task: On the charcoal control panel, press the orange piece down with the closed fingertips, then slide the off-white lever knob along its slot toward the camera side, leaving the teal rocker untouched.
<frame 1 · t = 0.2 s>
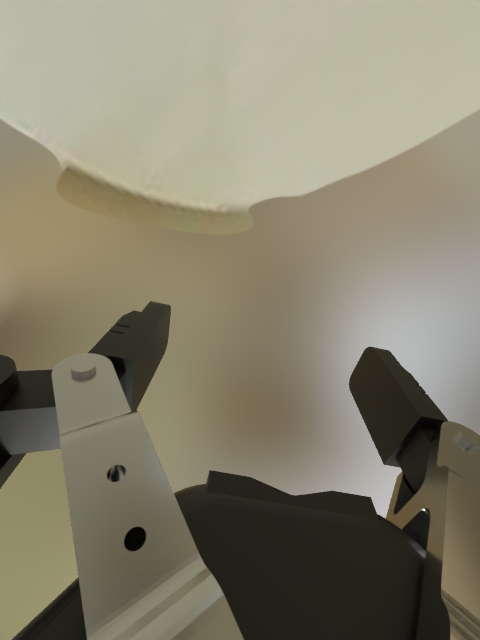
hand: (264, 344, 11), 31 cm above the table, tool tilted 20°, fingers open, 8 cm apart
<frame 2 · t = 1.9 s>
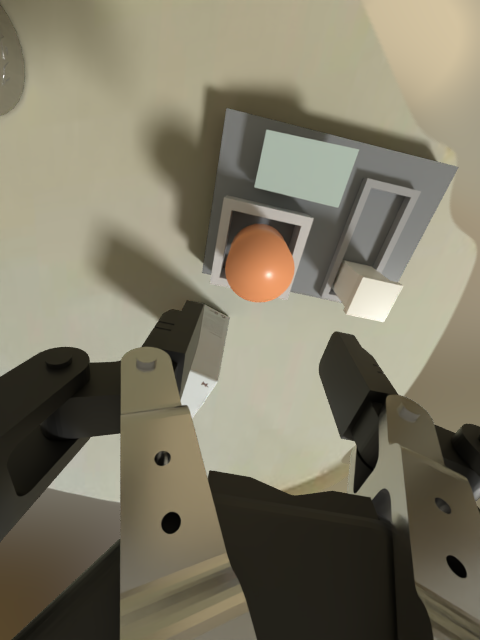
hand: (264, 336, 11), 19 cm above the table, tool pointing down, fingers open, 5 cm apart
orange piece: (258, 261, 21), point 8 cm above the table, slide at 0.0 cm
panel: (311, 221, 27), on the table
skincare box: (204, 326, 34), on the table
rocker: (303, 170, 21), point 5 cm above the table, hinge at -12.0°
lever: (361, 287, 25), point 6 cm above the table, slide at 0.0 cm
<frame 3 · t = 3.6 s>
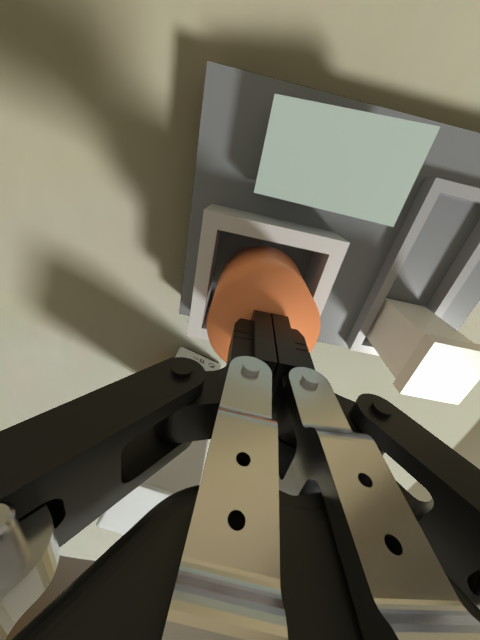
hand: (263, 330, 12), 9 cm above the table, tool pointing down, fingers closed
orange piece: (261, 305, 14), point 7 cm above the table, slide at 1.1 cm, touching gripper
panel: (336, 240, 19), on the table
skincare box: (188, 374, 26), on the table
rocker: (335, 164, 13), point 5 cm above the table, hinge at -12.0°
lever: (416, 344, 16), point 6 cm above the table, slide at 0.0 cm
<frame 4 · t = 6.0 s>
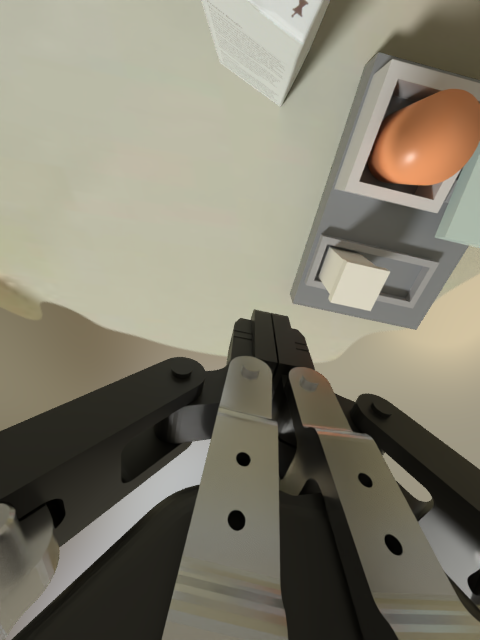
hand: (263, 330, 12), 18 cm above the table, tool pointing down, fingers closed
orange piece: (416, 144, 19), point 5 cm above the table, slide at 2.6 cm
panel: (389, 217, 26), on the table
skincare box: (263, 56, 21), on the table
lever: (347, 275, 23), point 6 cm above the table, slide at 0.0 cm
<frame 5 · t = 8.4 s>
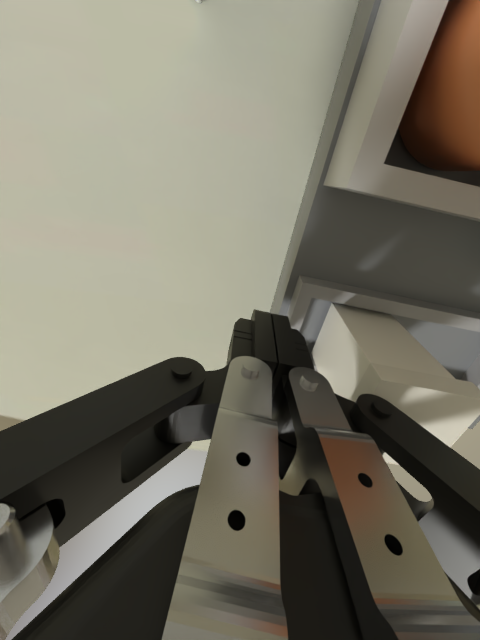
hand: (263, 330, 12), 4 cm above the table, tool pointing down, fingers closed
panel: (429, 238, 14), on the table
lever: (371, 371, 11), point 6 cm above the table, slide at 0.8 cm, touching gripper
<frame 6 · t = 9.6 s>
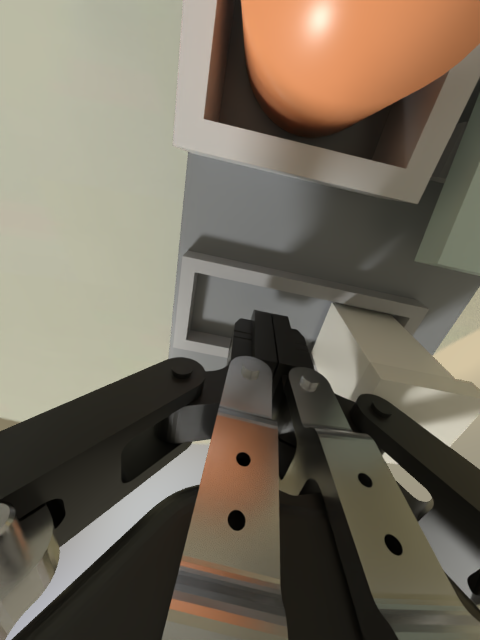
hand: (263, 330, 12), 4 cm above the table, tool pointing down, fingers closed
panel: (332, 216, 14), on the table
lever: (371, 370, 11), point 6 cm above the table, slide at 6.1 cm, touching gripper
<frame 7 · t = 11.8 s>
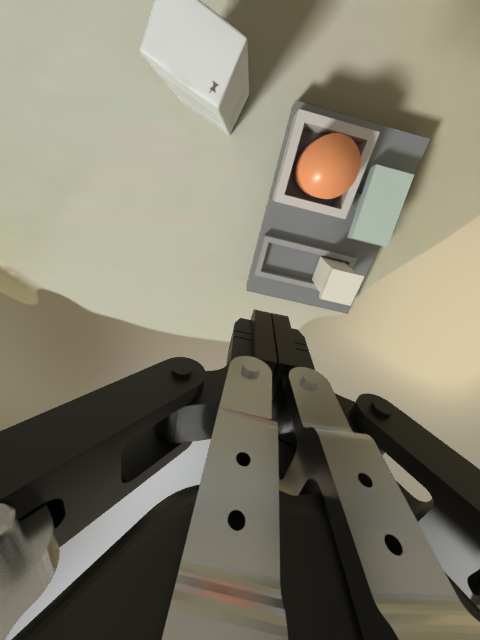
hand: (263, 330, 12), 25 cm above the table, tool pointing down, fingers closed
orange piece: (323, 168, 25), point 5 cm above the table, slide at 2.6 cm
panel: (321, 221, 33), on the table
skincare box: (214, 97, 28), on the table
rocker: (379, 207, 27), point 5 cm above the table, hinge at -12.0°
lever: (334, 278, 30), point 6 cm above the table, slide at 6.1 cm
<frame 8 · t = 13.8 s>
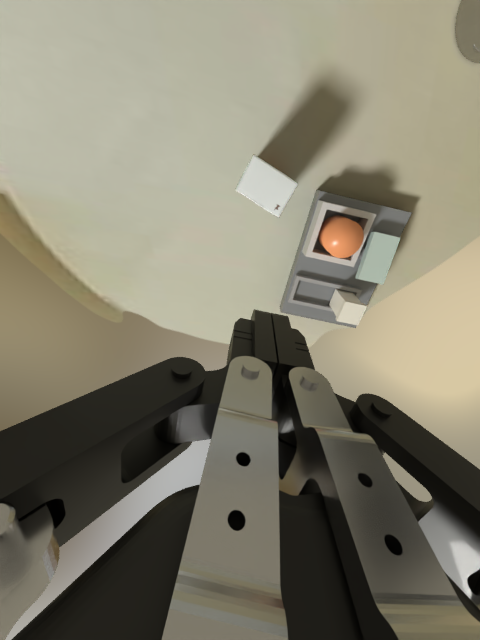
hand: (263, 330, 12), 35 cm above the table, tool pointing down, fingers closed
orange piece: (339, 236, 38), point 5 cm above the table, slide at 2.6 cm
panel: (335, 263, 45), on the table
skincare box: (263, 184, 40), on the table
rocker: (377, 258, 40), point 5 cm above the table, hinge at -12.0°
lever: (345, 305, 43), point 6 cm above the table, slide at 6.1 cm
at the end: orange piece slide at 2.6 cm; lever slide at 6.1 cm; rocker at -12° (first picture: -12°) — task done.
